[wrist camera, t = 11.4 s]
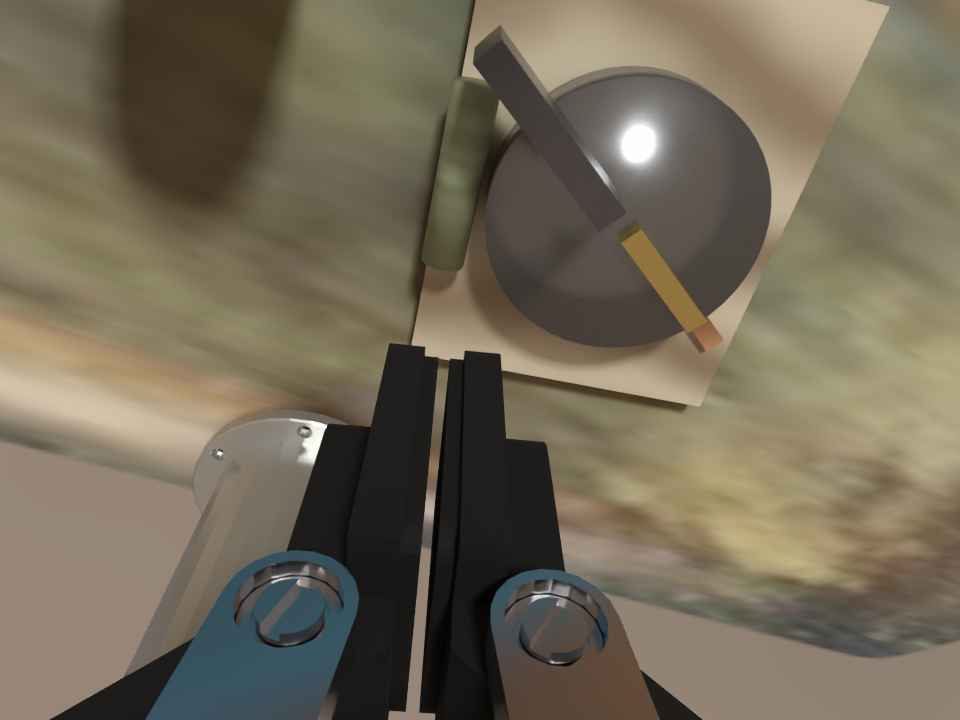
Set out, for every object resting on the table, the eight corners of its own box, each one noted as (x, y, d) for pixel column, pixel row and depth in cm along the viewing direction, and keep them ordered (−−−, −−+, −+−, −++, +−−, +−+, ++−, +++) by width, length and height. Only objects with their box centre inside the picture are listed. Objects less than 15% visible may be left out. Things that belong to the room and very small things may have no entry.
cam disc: (809, 131, 30) (873, 174, 25) (667, 353, 36) (696, 424, 31) (492, -10, 27) (492, 8, 22) (397, 256, 33) (381, 317, 28)
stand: (694, 393, 39) (709, 430, 36) (406, 340, 37) (399, 374, 35) (875, 3, 28) (917, 13, 26) (485, -96, 27) (484, -97, 24)
